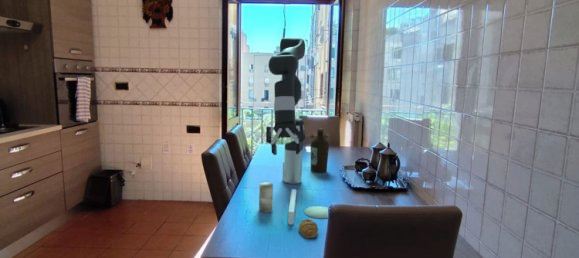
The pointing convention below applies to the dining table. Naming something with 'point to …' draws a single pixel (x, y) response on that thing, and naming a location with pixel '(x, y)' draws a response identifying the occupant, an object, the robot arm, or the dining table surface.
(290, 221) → the wall
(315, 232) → the pastry
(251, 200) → the dining table surface
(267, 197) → the dome-topped cylinder
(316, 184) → the dining table surface
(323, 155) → the olive oil
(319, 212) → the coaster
